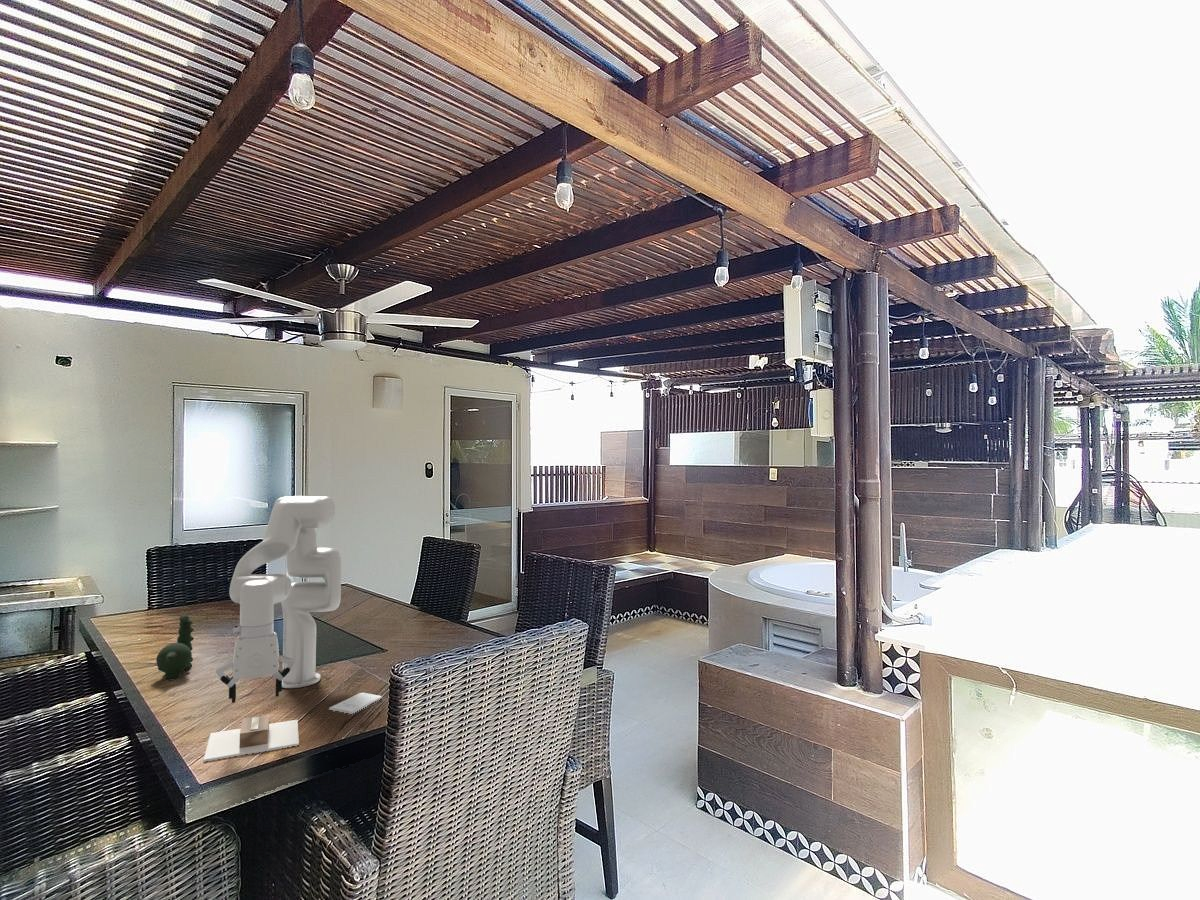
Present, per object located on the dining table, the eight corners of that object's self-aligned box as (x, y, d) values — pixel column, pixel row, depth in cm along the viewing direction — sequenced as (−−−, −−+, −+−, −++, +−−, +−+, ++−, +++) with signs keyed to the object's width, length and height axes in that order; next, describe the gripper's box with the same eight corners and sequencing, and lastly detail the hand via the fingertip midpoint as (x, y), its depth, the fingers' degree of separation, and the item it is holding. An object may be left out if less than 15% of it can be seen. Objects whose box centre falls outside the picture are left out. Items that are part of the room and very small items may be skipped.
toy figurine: (168, 669, 215) (149, 686, 192) (171, 613, 217) (152, 623, 194) (200, 666, 219) (185, 682, 196) (202, 611, 221) (188, 620, 198)
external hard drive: (382, 701, 185) (351, 717, 174) (360, 697, 188) (328, 712, 177) (382, 696, 185) (351, 711, 174) (360, 692, 188) (328, 706, 177)
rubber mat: (210, 735, 160) (210, 733, 160) (297, 721, 169) (297, 719, 169) (203, 762, 145) (203, 759, 145) (298, 745, 154) (298, 743, 154)
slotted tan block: (239, 748, 151) (239, 732, 151) (242, 732, 160) (242, 717, 160) (267, 743, 154) (267, 728, 154) (268, 728, 163) (269, 713, 163)
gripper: (215, 638, 151) (214, 709, 151) (295, 630, 158) (294, 697, 159) (218, 630, 157) (217, 698, 157) (294, 622, 165) (293, 687, 165)
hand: (255, 697), depth 158 cm, fingers open, 9 cm apart
